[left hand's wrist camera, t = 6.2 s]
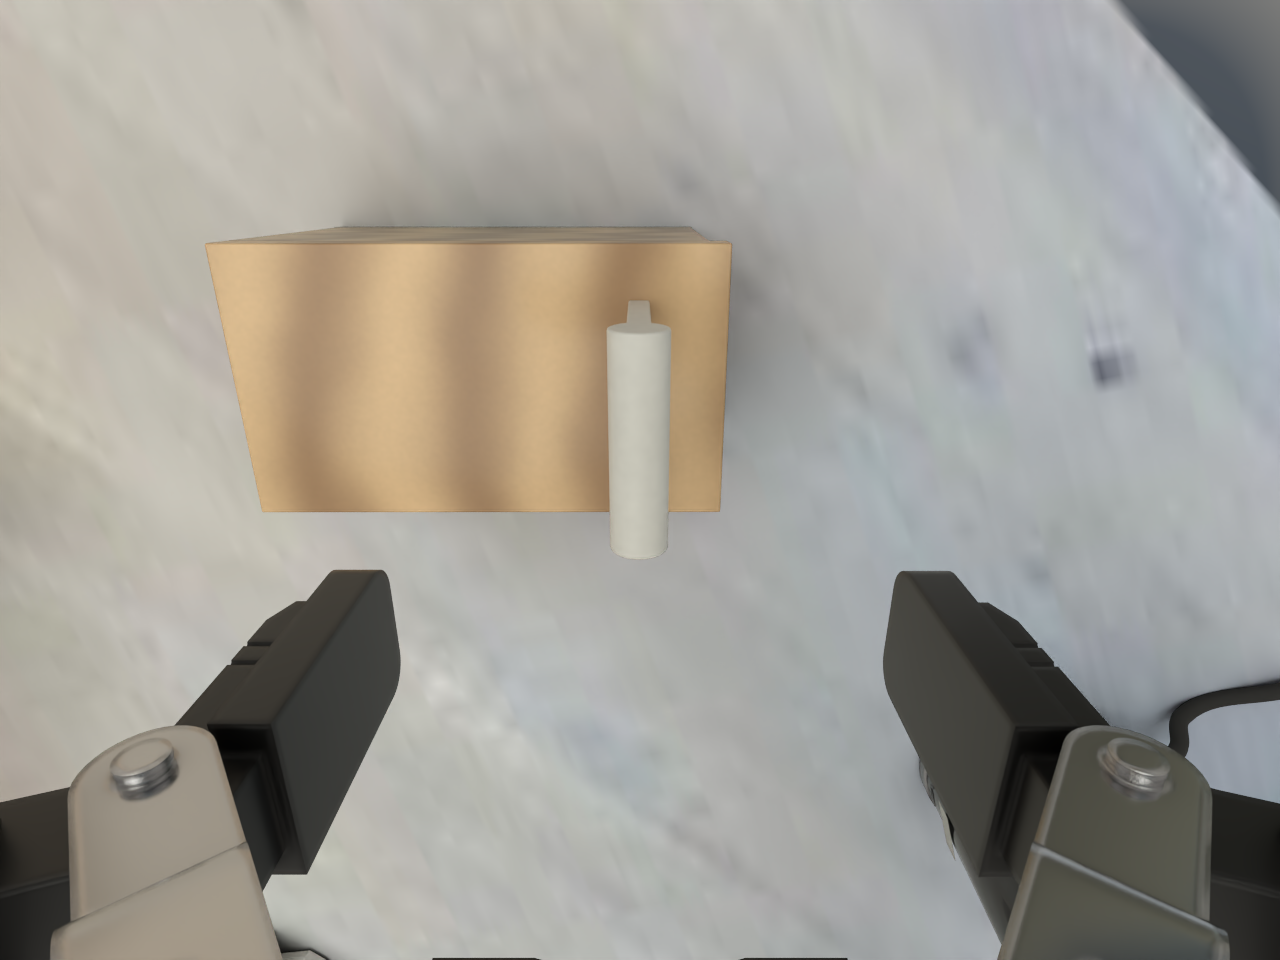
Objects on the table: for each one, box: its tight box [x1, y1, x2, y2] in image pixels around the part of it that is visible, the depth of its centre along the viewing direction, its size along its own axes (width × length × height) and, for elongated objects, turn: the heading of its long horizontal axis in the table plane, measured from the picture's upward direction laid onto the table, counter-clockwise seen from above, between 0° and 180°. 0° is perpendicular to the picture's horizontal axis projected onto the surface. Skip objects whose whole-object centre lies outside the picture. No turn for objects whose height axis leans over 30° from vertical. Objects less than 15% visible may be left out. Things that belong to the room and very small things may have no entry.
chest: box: [230, 227, 709, 241], centre depth 31 cm, size 17×10×10 cm, turn 90°
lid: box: [205, 241, 732, 560], centre depth 23 cm, size 17×10×8 cm, turn 90°
